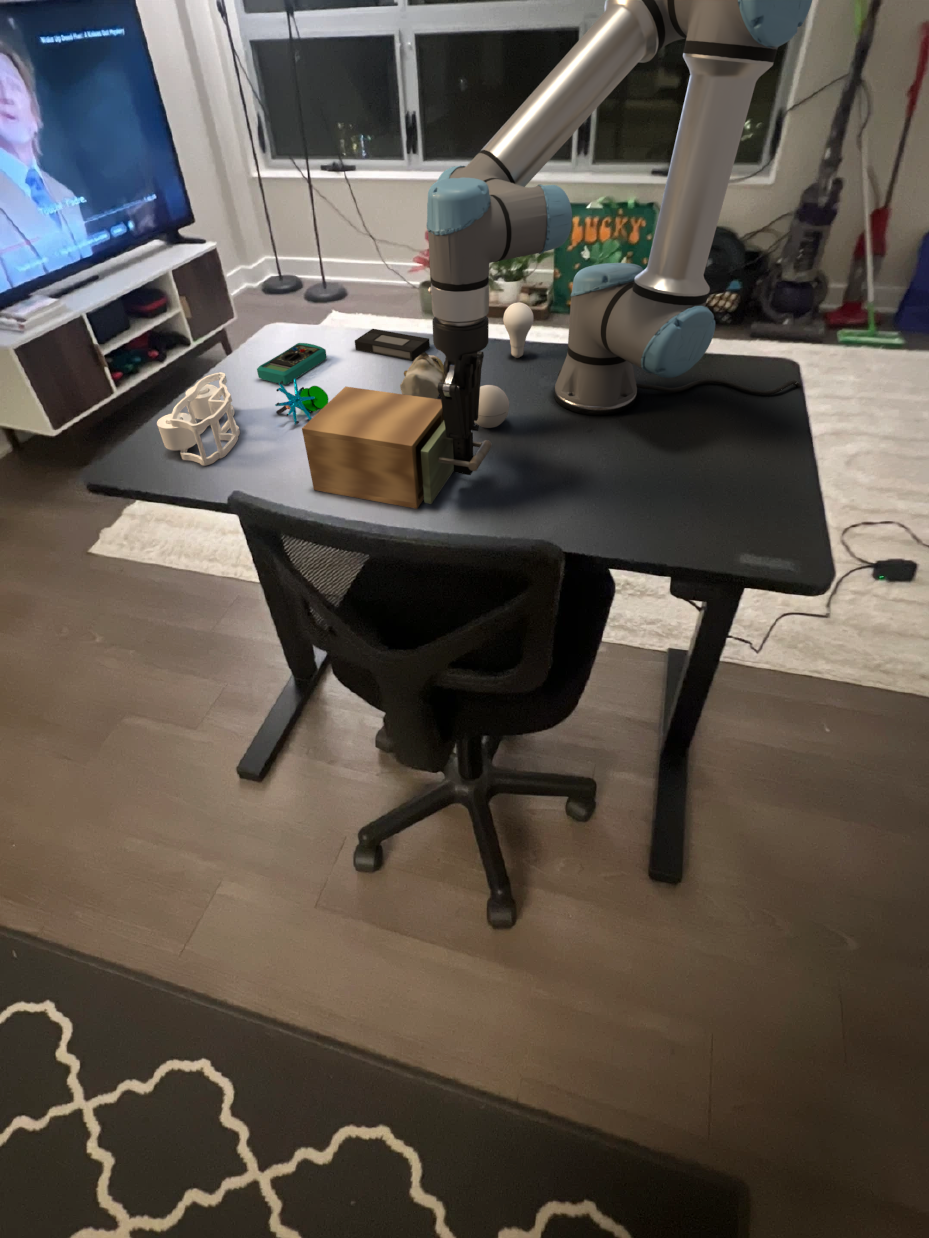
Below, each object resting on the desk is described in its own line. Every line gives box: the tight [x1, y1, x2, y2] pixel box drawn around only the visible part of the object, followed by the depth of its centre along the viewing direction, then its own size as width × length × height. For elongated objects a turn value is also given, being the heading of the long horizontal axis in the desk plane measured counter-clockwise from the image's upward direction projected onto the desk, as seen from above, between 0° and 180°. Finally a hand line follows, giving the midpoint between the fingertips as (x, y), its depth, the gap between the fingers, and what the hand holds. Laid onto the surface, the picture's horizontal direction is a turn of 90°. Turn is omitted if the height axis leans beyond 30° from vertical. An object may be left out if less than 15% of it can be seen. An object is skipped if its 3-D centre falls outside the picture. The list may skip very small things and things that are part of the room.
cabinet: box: [301, 385, 444, 510], centre depth 112 cm, size 18×15×11 cm
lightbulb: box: [502, 301, 534, 359], centre depth 145 cm, size 6×6×11 cm
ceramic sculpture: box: [399, 351, 446, 399], centre depth 134 cm, size 11×9×15 cm
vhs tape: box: [354, 328, 431, 361], centre depth 153 cm, size 8×14×2 cm, turn 63°
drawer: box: [414, 414, 493, 505], centre depth 111 cm, size 23×14×9 cm, turn 71°
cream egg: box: [474, 384, 510, 429], centre depth 124 cm, size 10×7×7 cm
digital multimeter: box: [256, 342, 328, 386], centre depth 146 cm, size 7×15×3 cm, turn 153°
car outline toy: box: [156, 372, 241, 467], centre depth 125 cm, size 20×11×7 cm, turn 171°
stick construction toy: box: [274, 378, 329, 425], centre depth 132 cm, size 12×7×8 cm
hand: (463, 471), depth 110 cm, fingers closed
